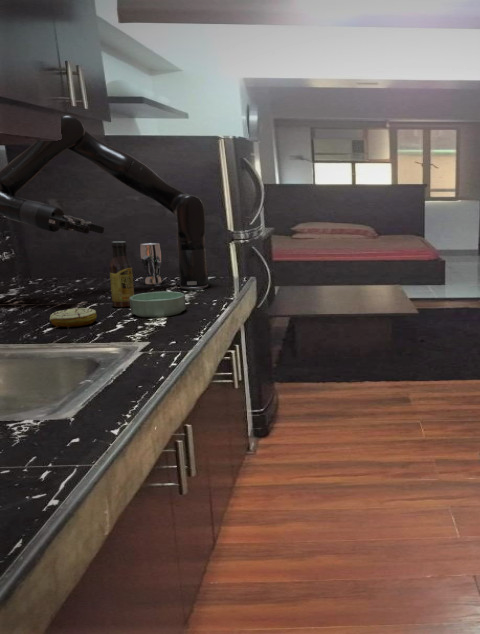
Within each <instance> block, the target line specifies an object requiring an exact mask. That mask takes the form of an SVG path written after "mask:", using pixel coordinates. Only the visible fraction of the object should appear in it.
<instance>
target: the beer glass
mask: <svg viewBox="0 0 480 634" xmlns="http://www.w3.org/2000/svg"><path fill="white" fill-rule="evenodd" d="M139 245H140V261H141V264H142V268H143V271H144V285H146V286H156V285H157V286H158V285H163V279H162V276H161V269H162V268H161V267H162V251H161V246H160V245H161V244H160V243H158V242H145V243H140V244H139Z"/></svg>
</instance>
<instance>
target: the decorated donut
mask: <svg viewBox="0 0 480 634" xmlns="http://www.w3.org/2000/svg"><path fill="white" fill-rule="evenodd" d="M97 317H98V314H97V310H95V309H93V308H89V307H73V308H67V309H63V310H57V311H55V312H52V314H51V313H50V316H49V321H50V323H51V325H52V326H55V327H59V328H60V327H61V328H65V327H66V328H76V327H83V326H89V325H91V324H93V323H94V322H95V321H96V319H97Z"/></svg>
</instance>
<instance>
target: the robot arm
mask: <svg viewBox="0 0 480 634" xmlns="http://www.w3.org/2000/svg"><path fill="white" fill-rule="evenodd" d="M61 115H62V116H61V134H62V139H61V140H58V141H41V140H38V139H37V140H36V141H35V142H34V143H33V144H31V145H30V146H29V147H28V148H27V149H26V150H24V151H23V152H21V153H20V154H19V155H17V156H16V157H15V158H14V159H12V160H11V161H10V162H8V163H7V164H6V165H5V166H4V167H2V168H1V169H0V215H1V216H3V217H4V218H6V219H9V220H11V221H15V222H18V223H22V224H25V225H28V226H31V227H34V228H38V229H41V230H45V231H49V232H52V233H53V232H54V233H55V232H59V230H65V231H71V232H78V233H82V234H86V235H87V234H89V233H90V232H93V233H97V234H104V231H105V227H104V226H102V225H99V224H96V223H94V222H93V221H90V220H85V219H82V218H79V217H74V216H72V215H65V212H64V210H63V209H62V208H61V207H59V206H55V205H53V204H52V205H51V204H48V203H44V202H41V201H36V200H31V199H26V198H23V197H22V198H21V197H19V196H16V195H17V193H18V192H19V191H20V190H22V189H23V188H24V187H25V186H26V185H27V184H28V183H30V182H31V181H32V180H33V179H34V178H35V177H36V176H37V175H38V174H39V173H40V172H41V171H42V170H43V169H44V168H45V167H46V166H47V165H48V164H49V163H50V162H51V161H52V160H53V159H54V158H56V157H57V156H58V155H59V154H62V152H65V151H66V150H69V151H71V152H73V153H75V154H76V155H79V156H81V157H83V158H84V159H86V160H88V161H89V162H91V163H93V164H94V165H95V166H97V167H98V168H99V169H100V170H102V171H103V172H105V173H106V174H107V175H109V176H111V177H112V178H114V179H115V180H117V181H119V182H120V183H121V184H123V185H125V186H126V187H128V188H130V189H132V190H134V191H136V192H137V193H139V194H141V195H143V196H145V197H148V198H149V199H152V200H154V201H155V202H157V203H158V204H160V205H161V206H163V207H164V208H165V209H166V210H168V211H169V212H170V213H171V214H173V215H175V217H176V220H177V221H176V224H177V230H176V247H177V259H178V270H179V282H180V287H179V288H180V289H181V290H185V291H197V290H204V289H207V288H209V283H210V282H209V271H208V269H209V268H208V261H207V254H206V242H205V241H206V240H205V234H206V215H205V208H204V207H205V206H204V202H202V200H201V199H200V197H198V196H195V195H192V194H188V193H185V192H184V191H182V190H179V189H178V188H175V187H174V186H172V185H170V184H169V183H168V182H166V181H165V180H163V178H161V176H159V174H157V173H156V172H155V171H154V170H152V168H150V167H149V166H147V165H146V164H145V163H143V162H141V161H140V160H138V159H137V158H135V157H134V156H132V155H130V154H128V153H126V152H124V151H122V150H120V149H119V148H116V147H114V146H111V145H110V144H107V143H105V142H103V141H101V140H100V139H98V138H96V137H95V136H93V134H91V133H89V132H88V131H86V130H85V126H84V124H83V122H82V121H81V120H80V119H79V118H77V117H76V116H74V115H70V114H61Z"/></svg>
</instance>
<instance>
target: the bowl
mask: <svg viewBox="0 0 480 634" xmlns="http://www.w3.org/2000/svg"><path fill="white" fill-rule="evenodd" d="M129 299H130V307H129V309H130V314H131V315H135V316H136V317H140V318H164V317H165V318H166V317H171V316H176V315H179V314H181V313H183V312H184V311H185V310H186V309H187V303H186V295H185V293H183V292H178V291H152V292H151V291H149V292H143V293H137V294H134V295H133V296H131V297H130V298H129Z"/></svg>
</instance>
